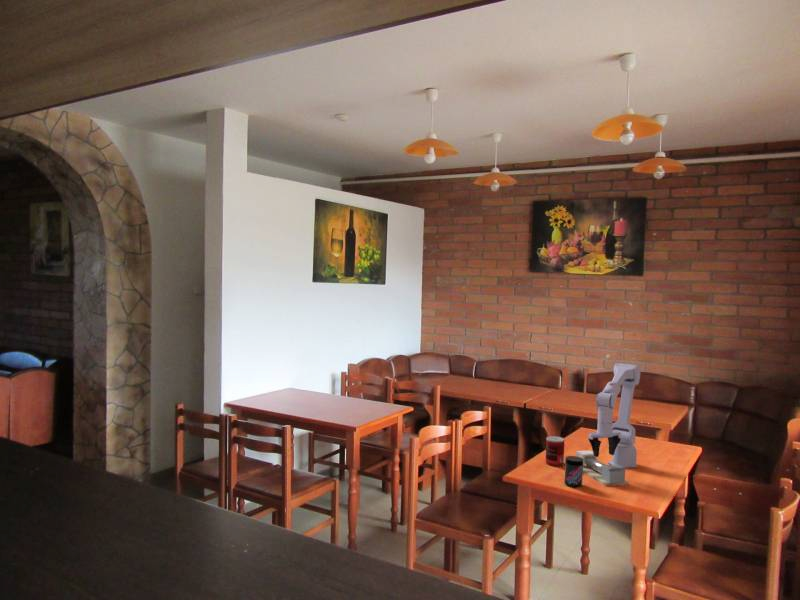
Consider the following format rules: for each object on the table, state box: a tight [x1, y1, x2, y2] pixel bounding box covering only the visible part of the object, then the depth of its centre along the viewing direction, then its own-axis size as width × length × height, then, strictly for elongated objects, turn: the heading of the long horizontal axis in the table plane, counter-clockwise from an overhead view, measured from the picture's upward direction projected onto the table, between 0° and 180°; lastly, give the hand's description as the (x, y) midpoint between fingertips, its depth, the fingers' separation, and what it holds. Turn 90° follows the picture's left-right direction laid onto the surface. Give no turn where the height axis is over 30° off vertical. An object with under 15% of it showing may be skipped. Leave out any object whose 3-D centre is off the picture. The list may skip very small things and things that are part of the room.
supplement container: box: [564, 455, 584, 489], centre depth 224 cm, size 7×7×10 cm
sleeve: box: [575, 450, 598, 467], centre depth 246 cm, size 5×7×5 cm
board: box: [583, 464, 630, 487], centre depth 237 cm, size 27×10×1 cm, turn 14°
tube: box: [584, 456, 606, 474], centre depth 236 cm, size 19×4×4 cm, turn 14°
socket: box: [602, 464, 626, 483], centre depth 227 cm, size 5×7×5 cm
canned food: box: [545, 435, 565, 467], centre depth 249 cm, size 8×8×11 cm
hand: (603, 455), depth 233 cm, fingers open, 7 cm apart
